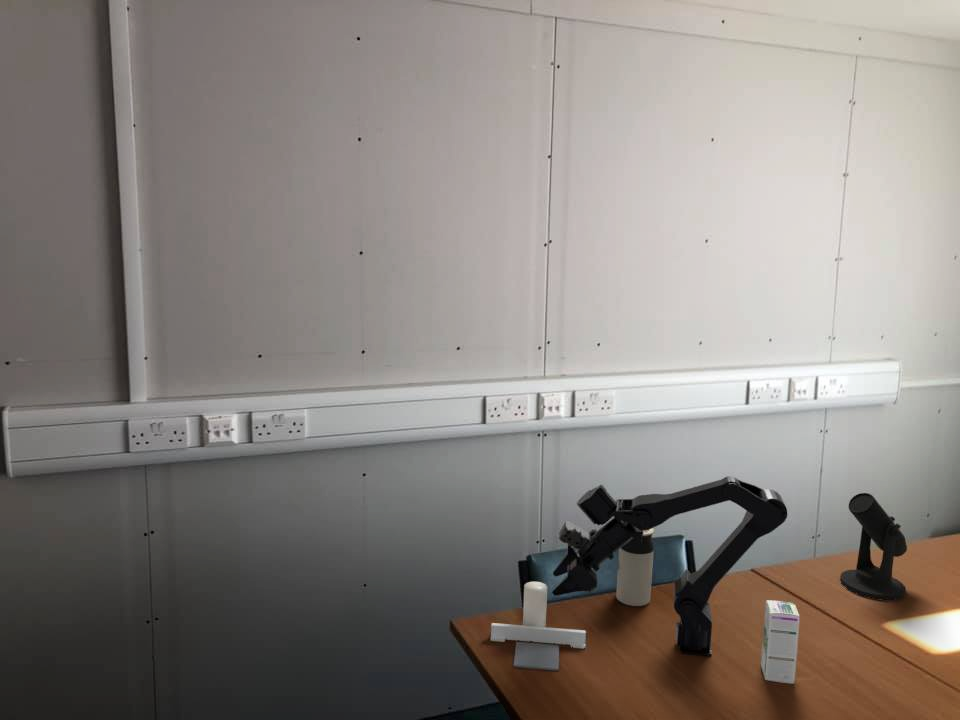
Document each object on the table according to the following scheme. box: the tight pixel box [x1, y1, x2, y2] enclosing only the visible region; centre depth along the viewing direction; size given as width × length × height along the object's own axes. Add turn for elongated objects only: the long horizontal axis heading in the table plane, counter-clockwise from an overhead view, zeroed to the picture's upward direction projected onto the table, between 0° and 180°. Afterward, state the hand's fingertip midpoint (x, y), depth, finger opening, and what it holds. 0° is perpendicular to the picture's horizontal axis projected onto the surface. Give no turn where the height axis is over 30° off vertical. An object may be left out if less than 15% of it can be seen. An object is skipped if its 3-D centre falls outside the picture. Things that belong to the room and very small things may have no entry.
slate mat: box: [513, 641, 560, 671], centre depth 158 cm, size 9×9×1 cm
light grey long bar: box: [490, 622, 587, 649], centre depth 164 cm, size 20×3×3 cm, turn 84°
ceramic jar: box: [522, 581, 548, 627], centre depth 168 cm, size 5×5×10 cm
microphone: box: [839, 492, 908, 601], centre depth 193 cm, size 15×17×25 cm
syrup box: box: [760, 599, 800, 685], centre depth 153 cm, size 6×6×14 cm
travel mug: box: [615, 528, 655, 607], centre depth 183 cm, size 8×8×18 cm
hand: (553, 584), depth 167 cm, fingers open, 9 cm apart
